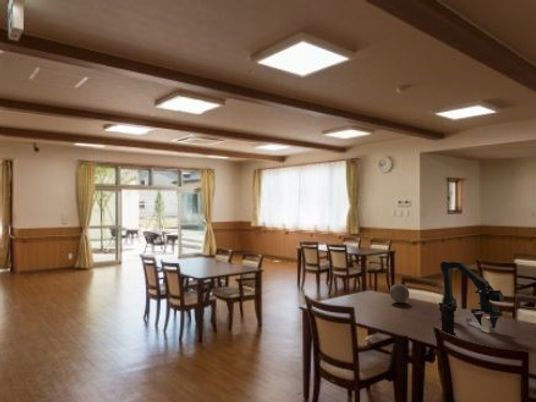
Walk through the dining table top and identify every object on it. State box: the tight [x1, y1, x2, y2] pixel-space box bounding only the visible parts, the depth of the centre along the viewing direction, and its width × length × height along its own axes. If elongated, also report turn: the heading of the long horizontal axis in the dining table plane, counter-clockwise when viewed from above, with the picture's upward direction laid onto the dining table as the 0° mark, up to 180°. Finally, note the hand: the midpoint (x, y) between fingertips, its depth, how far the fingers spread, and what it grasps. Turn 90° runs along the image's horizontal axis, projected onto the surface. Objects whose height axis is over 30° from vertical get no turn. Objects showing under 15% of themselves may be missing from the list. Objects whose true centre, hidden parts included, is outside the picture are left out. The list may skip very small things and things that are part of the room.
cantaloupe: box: [389, 283, 410, 304], centre depth 316 cm, size 14×14×15 cm
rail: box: [465, 317, 497, 335], centre depth 254 cm, size 3×20×4 cm, turn 17°
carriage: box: [480, 316, 497, 334], centre depth 248 cm, size 6×5×8 cm
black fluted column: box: [438, 302, 458, 338], centre depth 235 cm, size 8×8×20 cm
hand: (487, 326), depth 249 cm, fingers open, 9 cm apart
